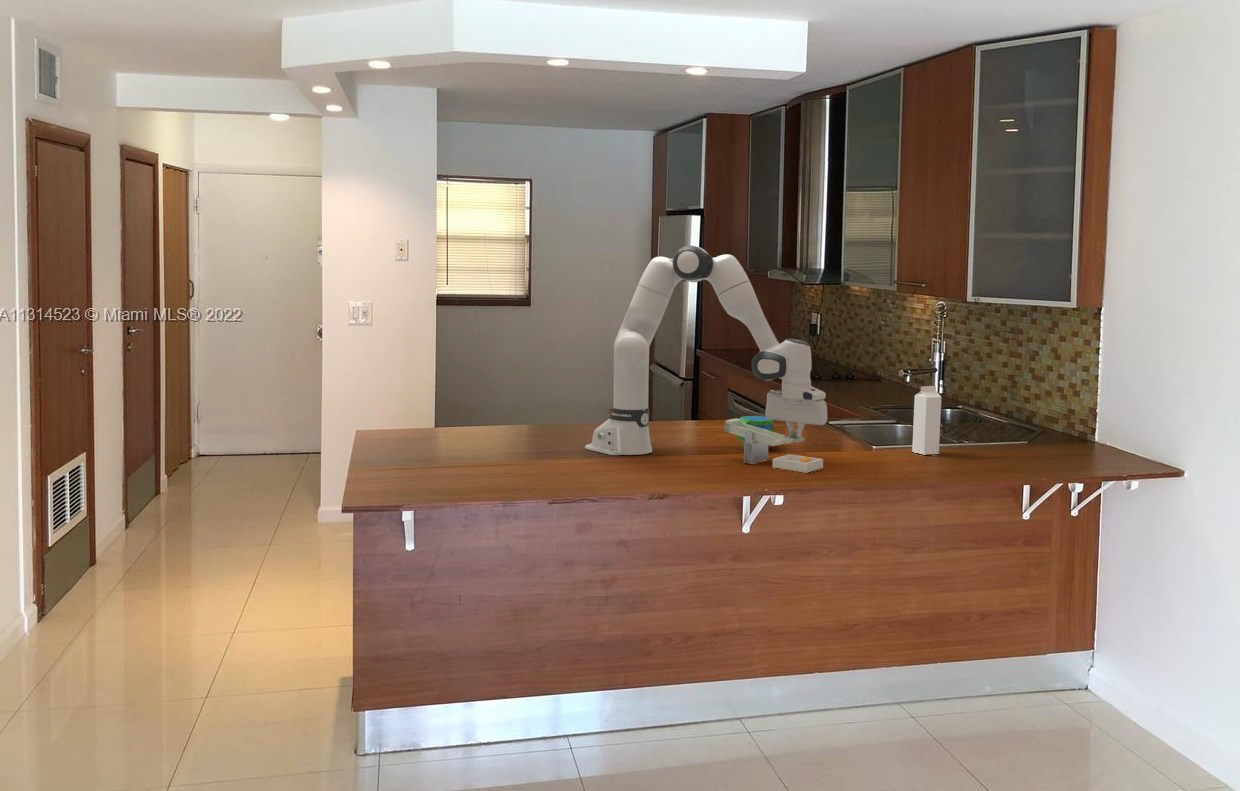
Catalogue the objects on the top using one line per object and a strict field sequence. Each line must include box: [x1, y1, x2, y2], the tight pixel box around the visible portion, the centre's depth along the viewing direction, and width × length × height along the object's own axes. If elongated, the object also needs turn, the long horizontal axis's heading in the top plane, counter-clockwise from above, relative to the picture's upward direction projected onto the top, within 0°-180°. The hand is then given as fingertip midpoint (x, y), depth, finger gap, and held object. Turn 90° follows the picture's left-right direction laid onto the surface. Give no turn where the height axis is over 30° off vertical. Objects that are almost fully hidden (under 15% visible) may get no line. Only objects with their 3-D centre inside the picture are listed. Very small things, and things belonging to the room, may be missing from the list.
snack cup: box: [736, 415, 775, 445], centre depth 360 cm, size 16×10×10 cm
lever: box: [723, 418, 805, 447], centre depth 340 cm, size 20×16×4 cm
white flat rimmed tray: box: [772, 453, 824, 474], centre depth 328 cm, size 12×10×3 cm
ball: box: [800, 456, 812, 463], centre depth 326 cm, size 4×4×4 cm
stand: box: [743, 429, 769, 464], centre depth 337 cm, size 3×9×10 cm, turn 140°
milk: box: [911, 385, 942, 455], centre depth 352 cm, size 6×6×22 cm
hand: (795, 436), depth 339 cm, fingers closed
